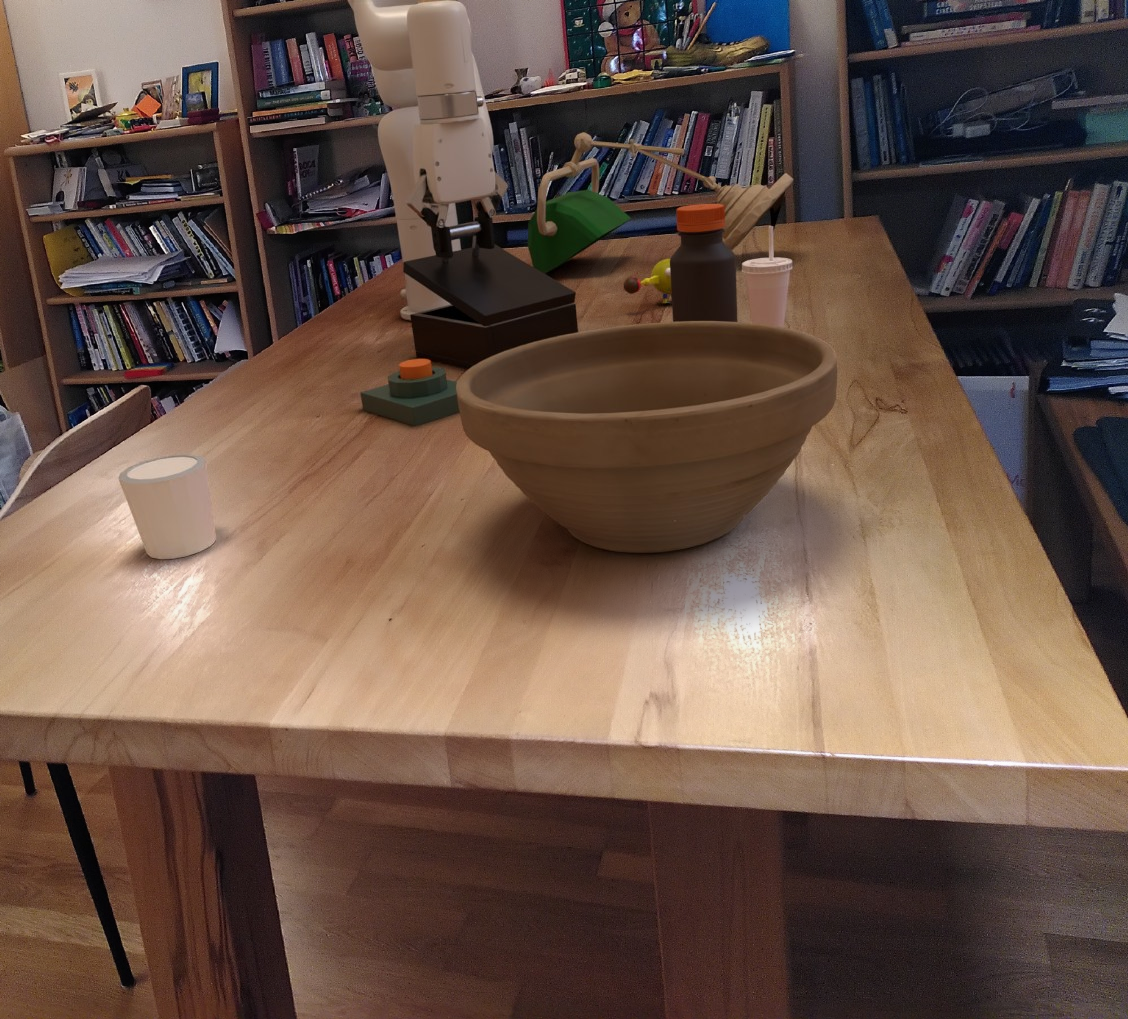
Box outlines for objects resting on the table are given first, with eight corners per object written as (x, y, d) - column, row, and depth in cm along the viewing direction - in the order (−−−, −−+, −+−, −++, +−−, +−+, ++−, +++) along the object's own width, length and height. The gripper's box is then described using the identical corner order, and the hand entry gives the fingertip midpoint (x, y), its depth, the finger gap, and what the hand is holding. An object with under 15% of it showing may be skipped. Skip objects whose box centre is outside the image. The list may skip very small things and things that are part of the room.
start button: (395, 379, 119) (392, 364, 118) (421, 371, 121) (419, 357, 120) (412, 383, 116) (410, 368, 115) (439, 376, 118) (436, 361, 117)
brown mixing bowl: (433, 503, 91) (411, 356, 86) (713, 436, 101) (708, 301, 96) (560, 640, 67) (539, 446, 62) (915, 535, 76) (921, 359, 71)
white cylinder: (152, 533, 91) (132, 458, 88) (231, 524, 91) (214, 448, 89) (128, 566, 84) (106, 486, 82) (213, 556, 85) (194, 476, 82)
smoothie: (793, 341, 132) (792, 228, 127) (742, 343, 134) (739, 232, 128) (793, 329, 138) (792, 221, 133) (744, 332, 139) (741, 224, 134)
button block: (363, 410, 121) (357, 377, 120) (427, 391, 126) (422, 359, 125) (415, 426, 113) (409, 391, 112) (481, 405, 118) (477, 371, 117)
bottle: (700, 408, 110) (691, 213, 102) (665, 395, 115) (654, 209, 108) (752, 395, 112) (747, 203, 105) (715, 383, 118) (708, 200, 111)
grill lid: (402, 272, 139) (404, 226, 135) (492, 253, 147) (495, 209, 144) (484, 326, 129) (487, 279, 125) (574, 302, 137) (580, 257, 134)
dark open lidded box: (416, 357, 143) (409, 314, 141) (502, 334, 152) (497, 293, 149) (490, 374, 131) (485, 327, 129) (579, 348, 140) (575, 303, 137)
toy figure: (642, 317, 154) (639, 270, 151) (616, 313, 158) (613, 268, 155) (722, 293, 164) (721, 250, 162) (696, 290, 168) (694, 248, 166)
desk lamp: (676, 342, 217) (537, 216, 215) (819, 183, 196) (666, 44, 195) (635, 390, 186) (473, 244, 185) (798, 208, 166) (617, 43, 165)
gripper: (485, 103, 140) (499, 239, 147) (374, 116, 130) (395, 262, 137) (519, 101, 135) (533, 243, 142) (406, 115, 125) (427, 267, 132)
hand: (465, 251), depth 139 cm, fingers closed on grill lid, 6 cm apart
